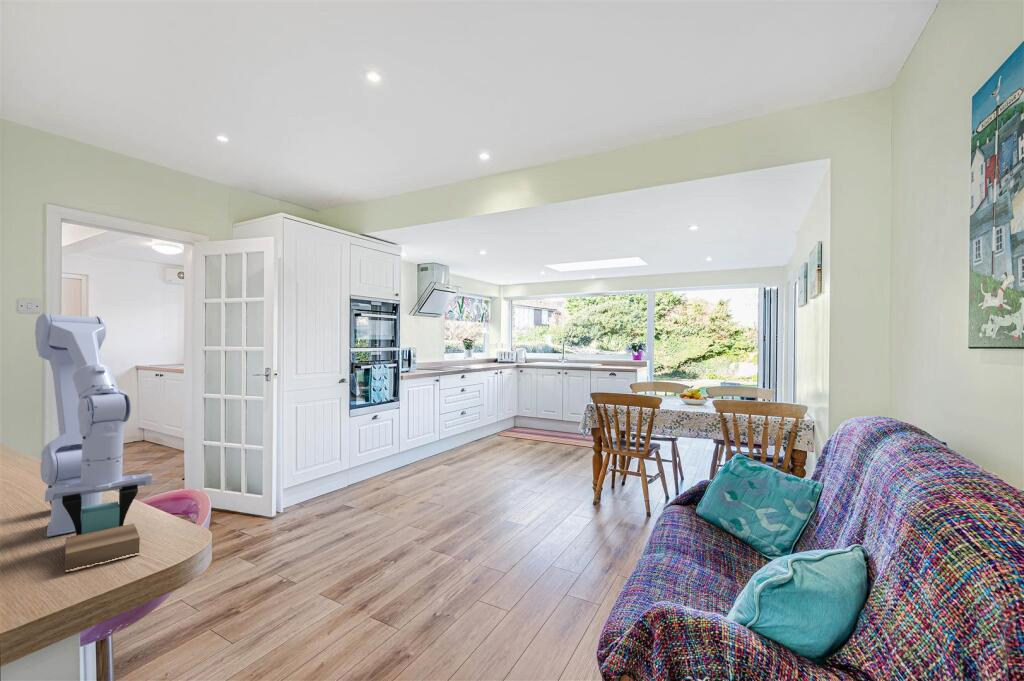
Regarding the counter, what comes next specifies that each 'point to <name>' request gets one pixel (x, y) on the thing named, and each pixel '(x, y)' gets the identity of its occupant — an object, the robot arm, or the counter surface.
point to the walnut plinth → (101, 546)
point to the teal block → (100, 517)
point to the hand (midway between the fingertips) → (99, 531)
